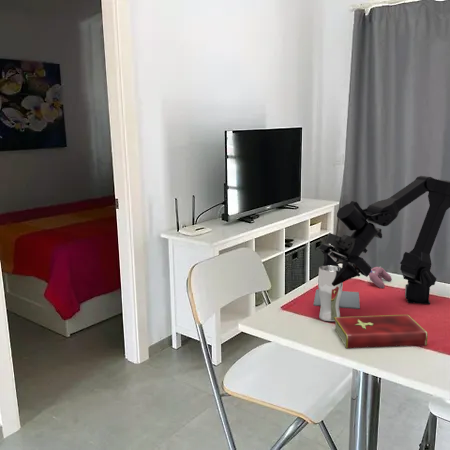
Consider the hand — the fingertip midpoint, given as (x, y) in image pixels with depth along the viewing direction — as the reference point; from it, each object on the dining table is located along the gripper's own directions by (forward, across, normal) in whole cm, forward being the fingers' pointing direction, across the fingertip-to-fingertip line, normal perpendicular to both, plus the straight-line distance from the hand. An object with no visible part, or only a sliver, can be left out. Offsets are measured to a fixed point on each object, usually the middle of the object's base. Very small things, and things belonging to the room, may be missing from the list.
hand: (326, 281), depth 140 cm
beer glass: (+7, 0, +9) cm, 11 cm away
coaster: (0, -11, +16) cm, 20 cm away
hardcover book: (+4, +16, +13) cm, 21 cm away
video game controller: (-16, -18, +33) cm, 41 cm away
